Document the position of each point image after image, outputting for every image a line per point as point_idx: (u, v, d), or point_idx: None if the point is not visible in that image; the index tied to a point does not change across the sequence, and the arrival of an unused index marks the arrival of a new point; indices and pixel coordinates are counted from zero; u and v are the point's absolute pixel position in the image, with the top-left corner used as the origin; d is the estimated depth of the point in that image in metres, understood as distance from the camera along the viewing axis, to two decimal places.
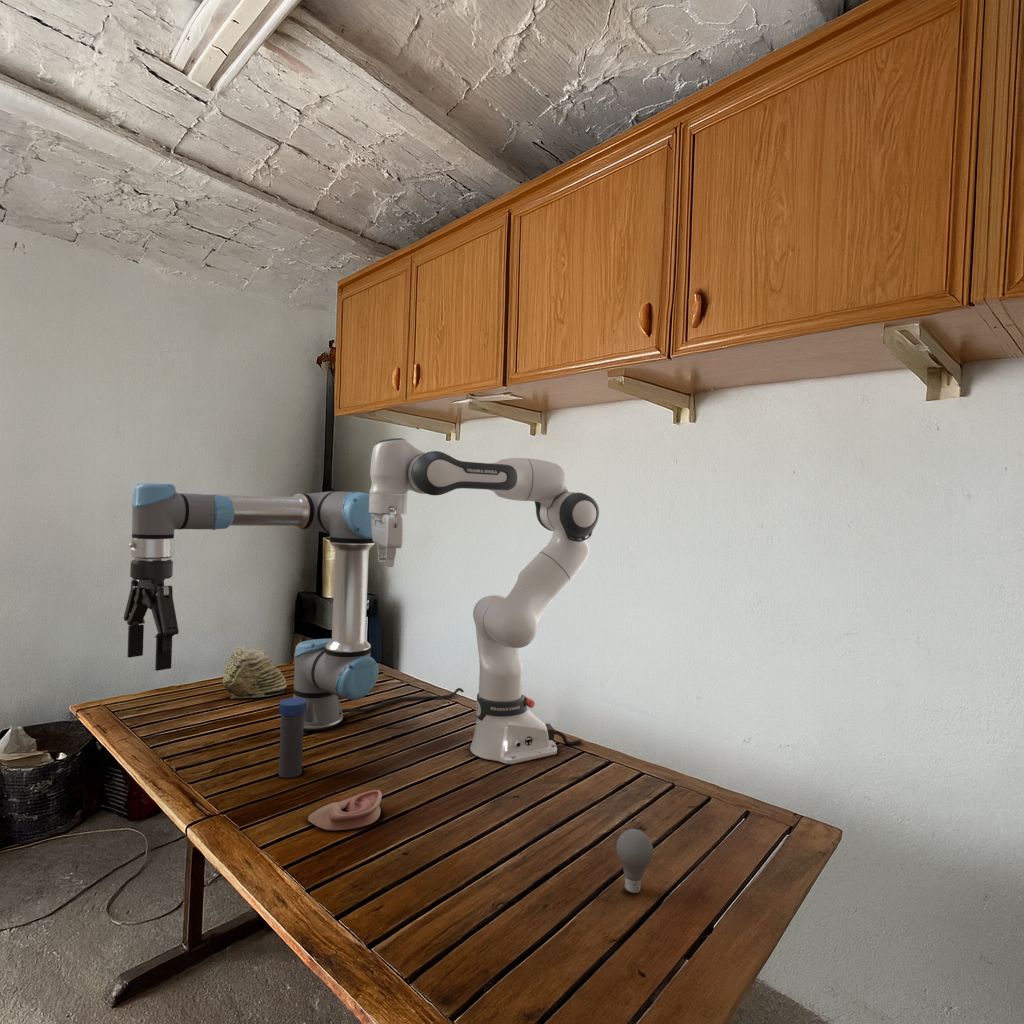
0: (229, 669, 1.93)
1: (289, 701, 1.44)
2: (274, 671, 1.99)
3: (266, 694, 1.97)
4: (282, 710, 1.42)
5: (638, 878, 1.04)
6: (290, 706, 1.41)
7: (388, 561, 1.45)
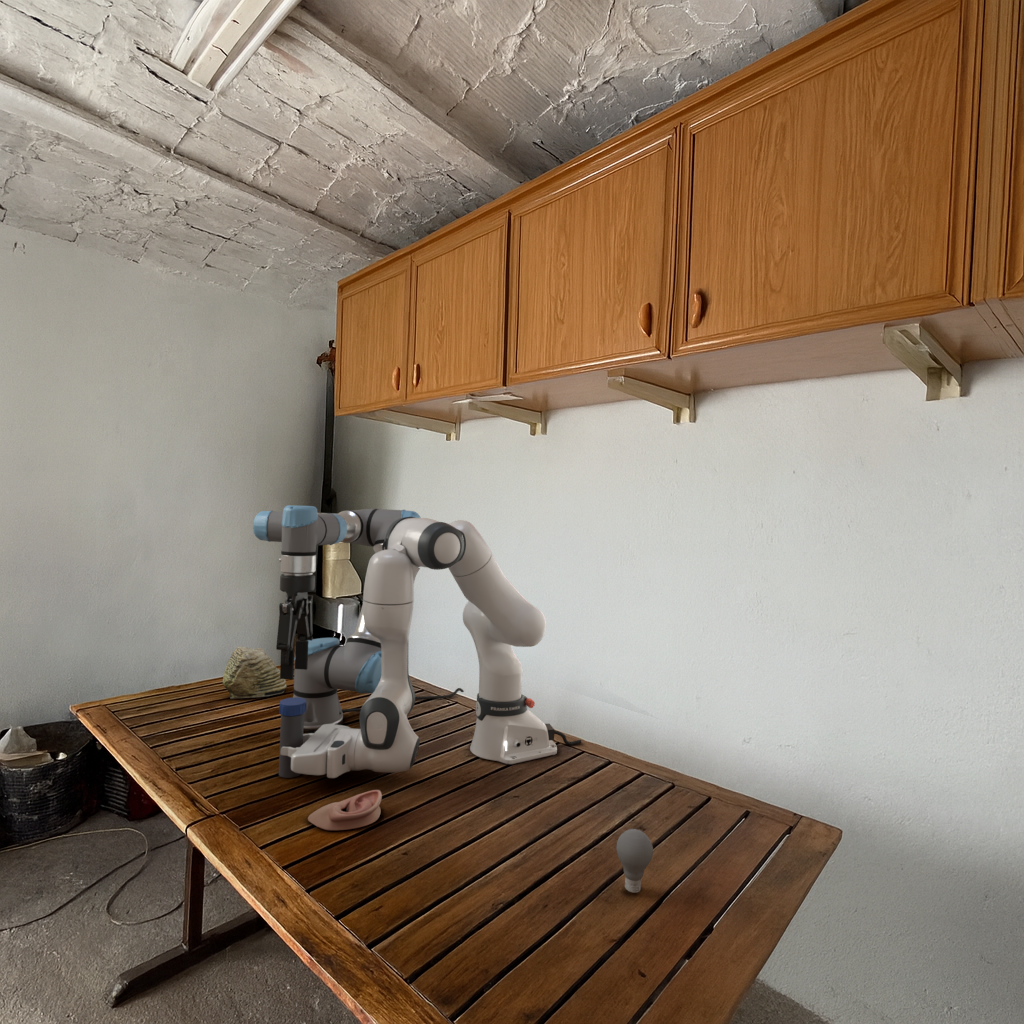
0: (229, 669, 1.93)
1: (289, 701, 1.44)
2: (274, 671, 1.99)
3: (266, 694, 1.97)
4: (282, 710, 1.42)
5: (638, 878, 1.04)
6: (290, 706, 1.41)
7: None
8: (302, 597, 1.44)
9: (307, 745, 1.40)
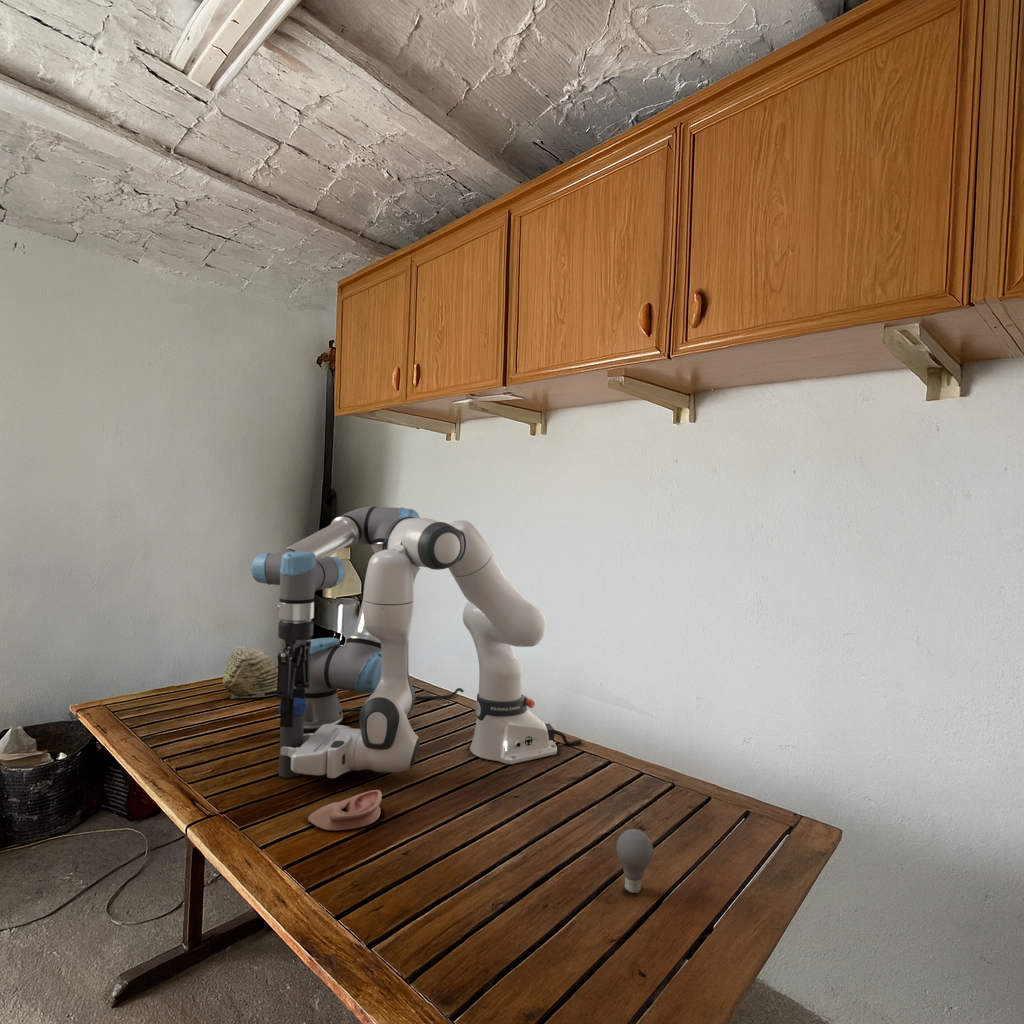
0: (229, 669, 1.93)
1: None
2: (274, 671, 1.99)
3: (266, 694, 1.97)
4: None
5: (638, 878, 1.04)
6: None
7: None
8: (300, 643, 1.44)
9: (307, 745, 1.40)
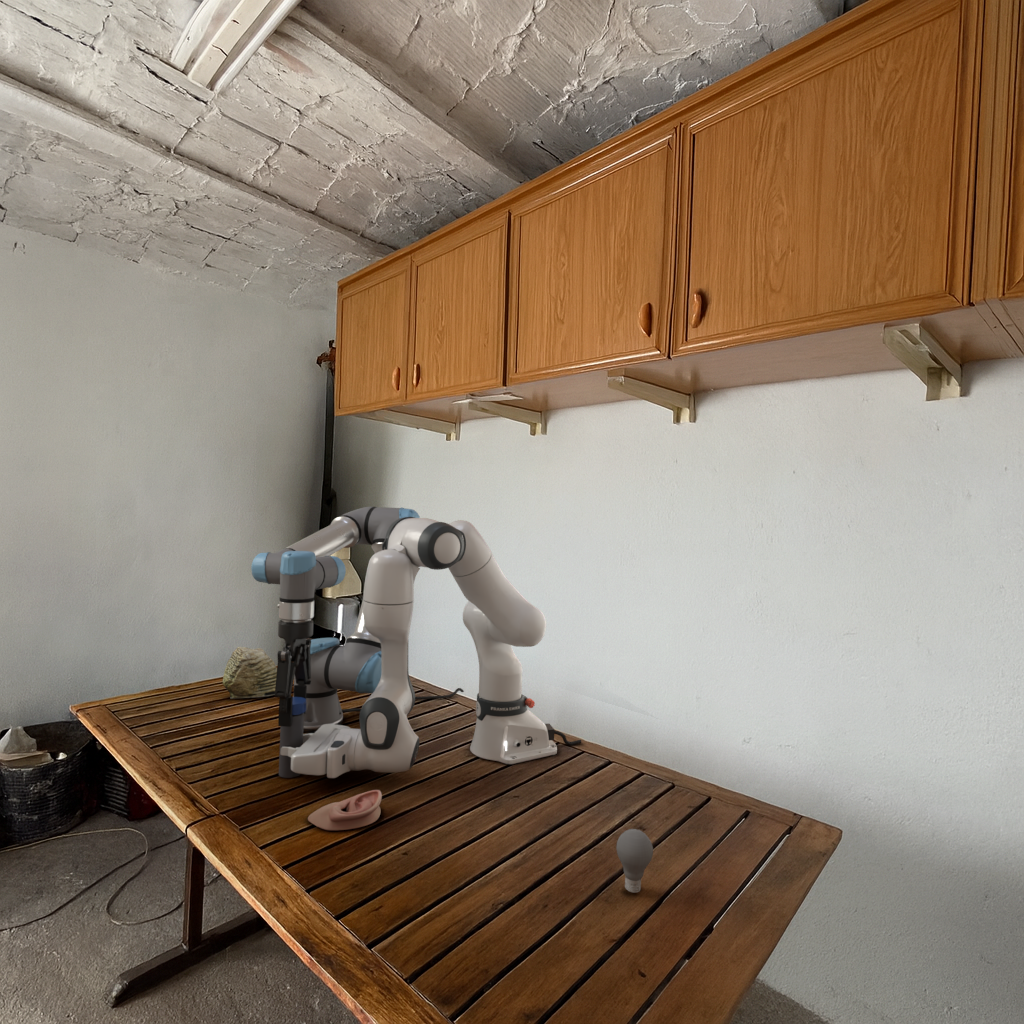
0: (229, 669, 1.93)
1: None
2: (274, 671, 1.99)
3: (266, 694, 1.97)
4: (297, 710, 1.42)
5: (638, 878, 1.04)
6: (304, 702, 1.43)
7: None
8: (300, 643, 1.44)
9: (307, 745, 1.40)
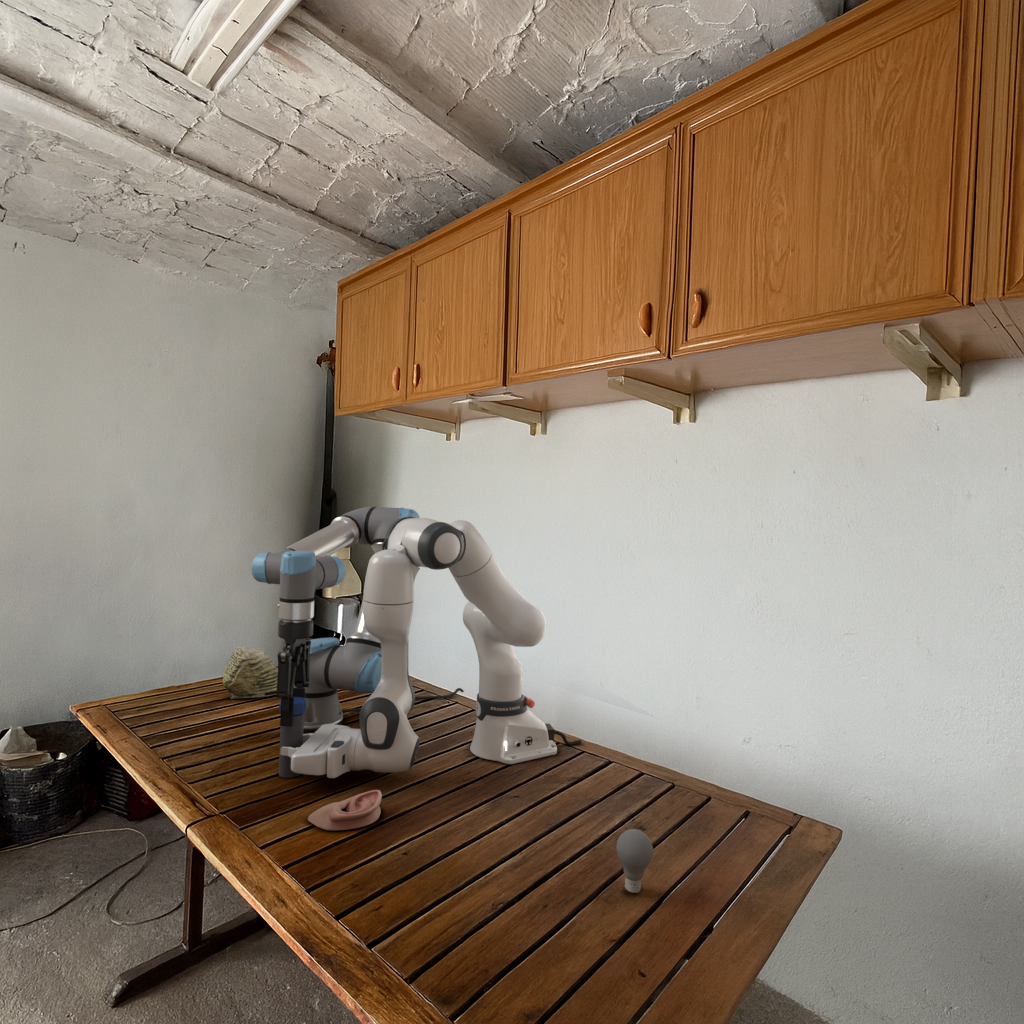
0: (229, 669, 1.93)
1: None
2: (274, 671, 1.99)
3: (266, 694, 1.97)
4: (297, 710, 1.42)
5: (638, 878, 1.04)
6: (304, 702, 1.43)
7: None
8: (300, 643, 1.44)
9: (307, 745, 1.40)
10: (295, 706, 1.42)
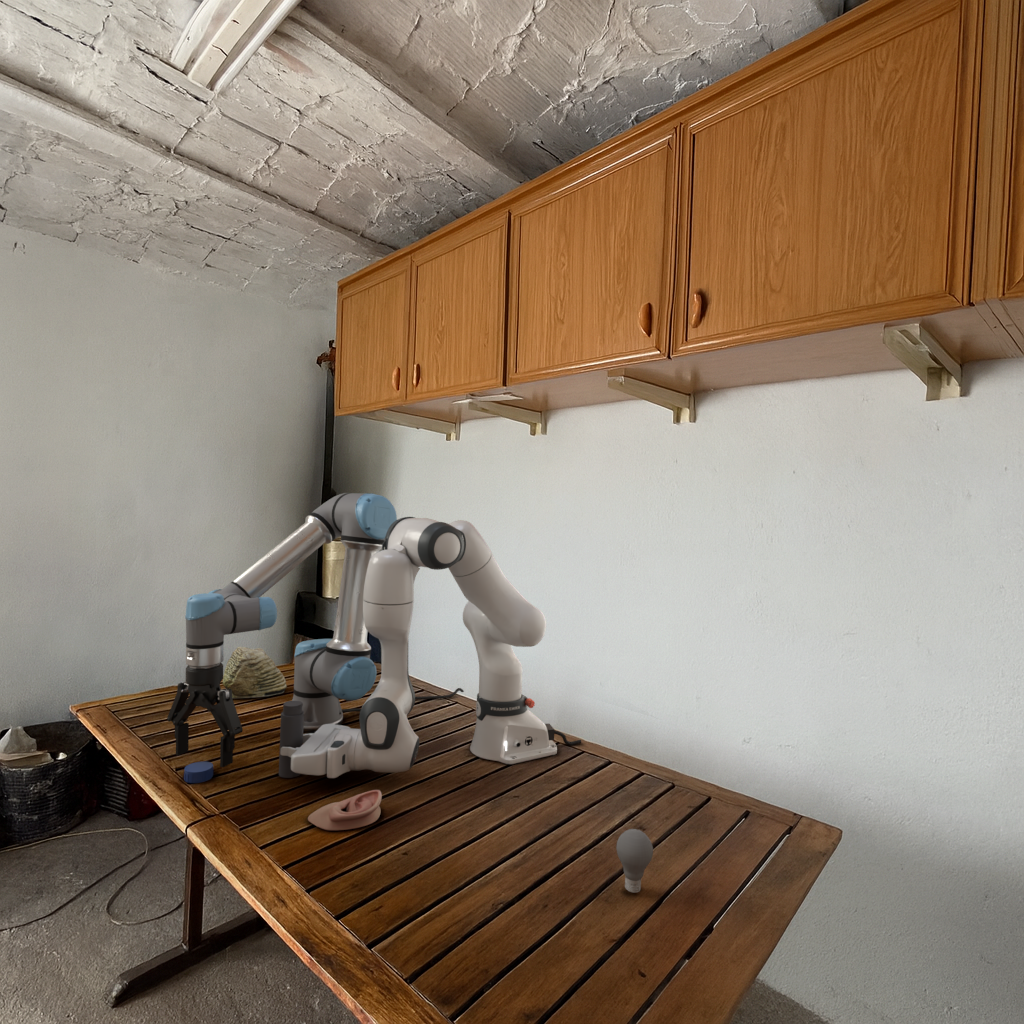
0: (229, 669, 1.93)
1: (201, 767, 1.40)
2: (274, 671, 1.99)
3: (266, 694, 1.97)
4: (212, 771, 1.41)
5: (638, 878, 1.04)
6: None
7: None
8: None
9: (307, 745, 1.40)
10: (212, 768, 1.41)
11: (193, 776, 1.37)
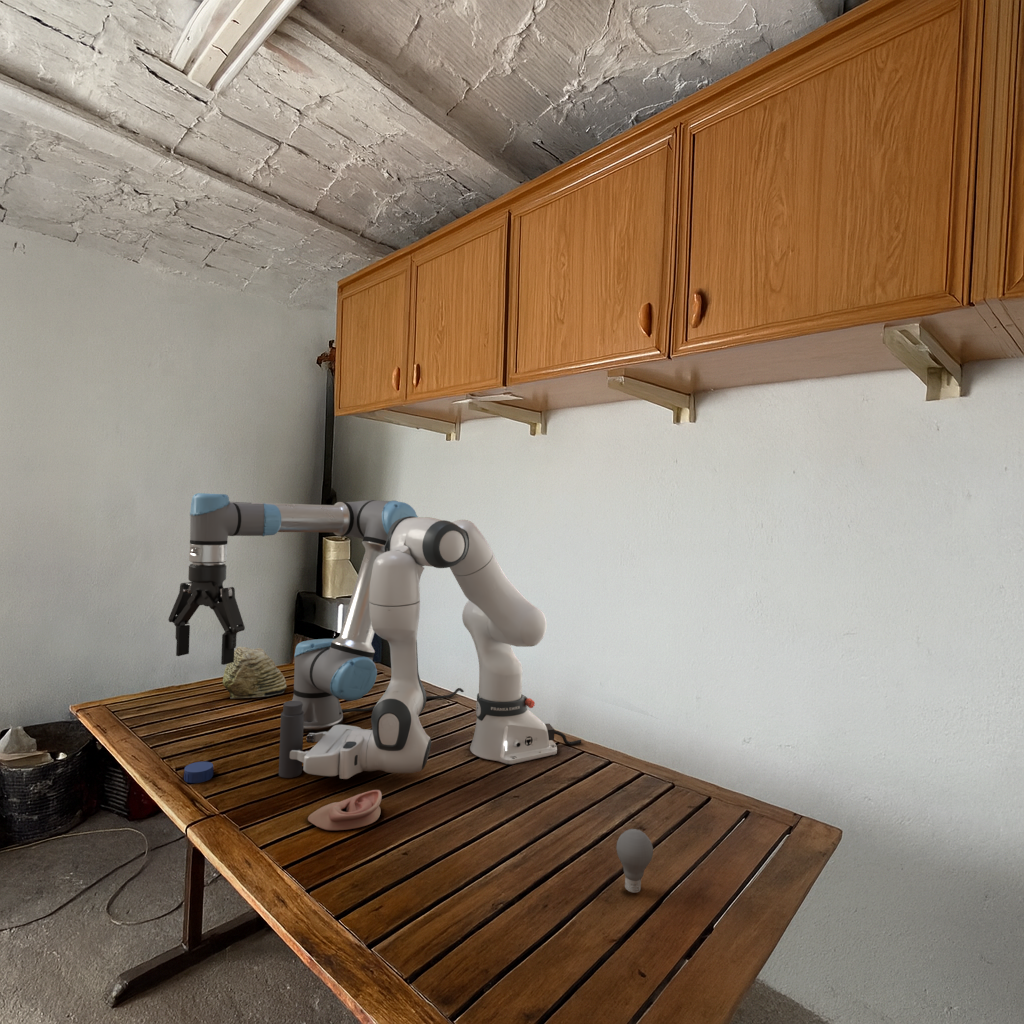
0: (229, 669, 1.93)
1: (201, 767, 1.40)
2: (274, 671, 1.99)
3: (266, 694, 1.97)
4: (212, 771, 1.41)
5: (638, 878, 1.04)
6: None
7: None
8: None
9: (319, 746, 1.40)
10: (212, 768, 1.41)
11: (193, 776, 1.37)
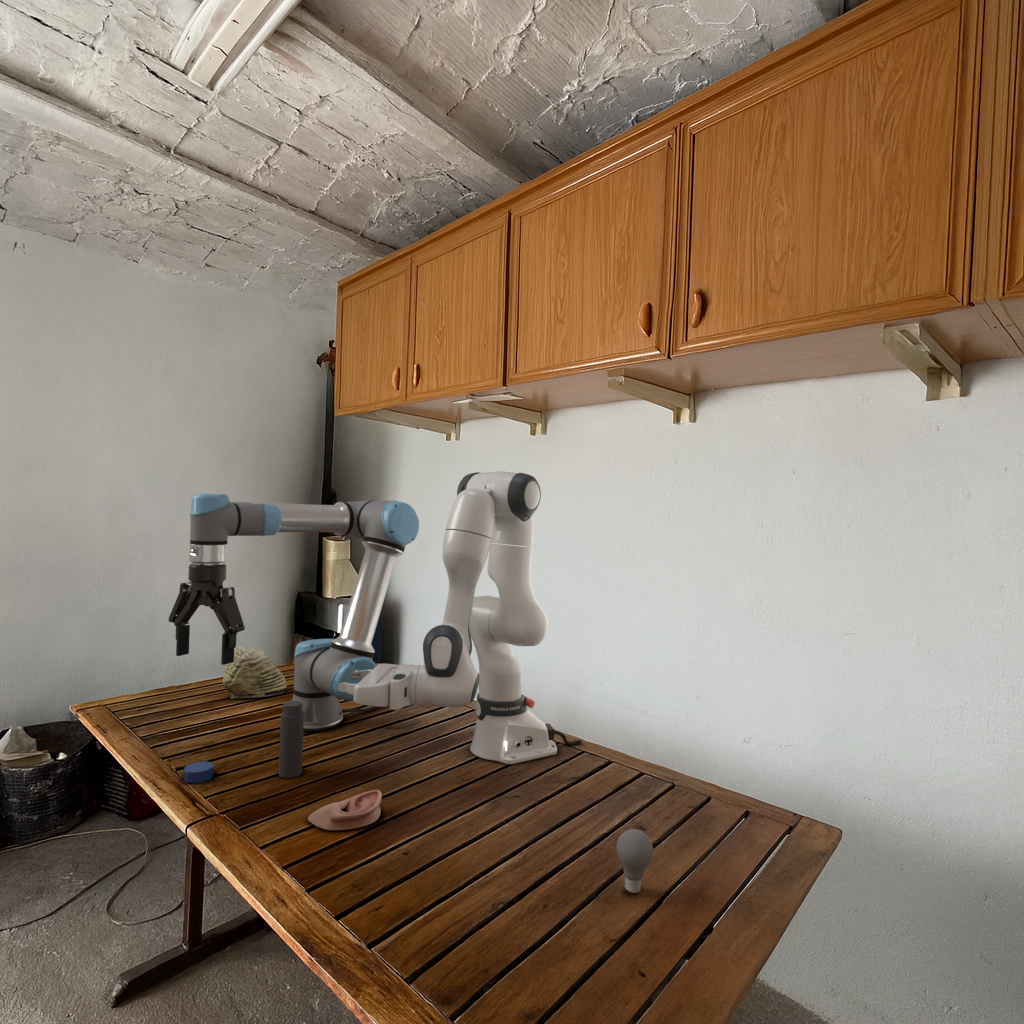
0: (229, 669, 1.93)
1: (201, 767, 1.40)
2: (274, 671, 1.99)
3: (266, 694, 1.97)
4: (212, 771, 1.41)
5: (638, 878, 1.04)
6: None
7: None
8: None
9: (368, 679, 1.39)
10: (212, 768, 1.41)
11: (193, 776, 1.37)
